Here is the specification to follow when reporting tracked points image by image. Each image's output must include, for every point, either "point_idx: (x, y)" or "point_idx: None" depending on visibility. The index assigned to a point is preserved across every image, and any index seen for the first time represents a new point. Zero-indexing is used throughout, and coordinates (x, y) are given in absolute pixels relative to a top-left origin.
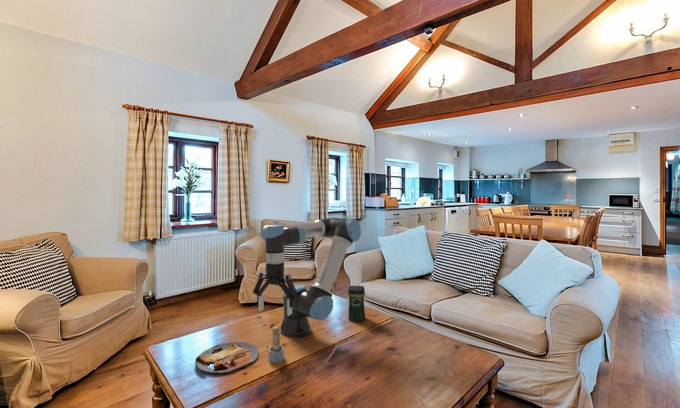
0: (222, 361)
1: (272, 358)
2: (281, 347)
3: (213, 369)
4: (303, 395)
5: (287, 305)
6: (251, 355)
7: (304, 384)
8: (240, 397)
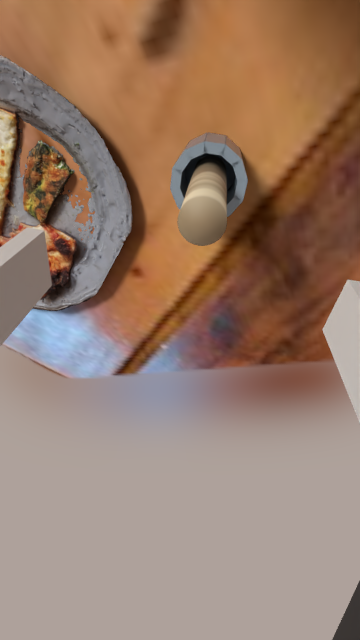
0: None
1: None
2: (230, 163)
3: None
4: None
5: (354, 401)
6: (91, 170)
7: None
8: (183, 357)
